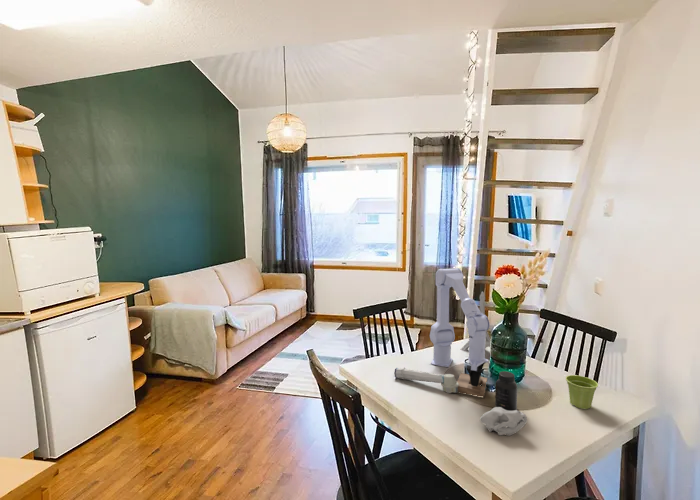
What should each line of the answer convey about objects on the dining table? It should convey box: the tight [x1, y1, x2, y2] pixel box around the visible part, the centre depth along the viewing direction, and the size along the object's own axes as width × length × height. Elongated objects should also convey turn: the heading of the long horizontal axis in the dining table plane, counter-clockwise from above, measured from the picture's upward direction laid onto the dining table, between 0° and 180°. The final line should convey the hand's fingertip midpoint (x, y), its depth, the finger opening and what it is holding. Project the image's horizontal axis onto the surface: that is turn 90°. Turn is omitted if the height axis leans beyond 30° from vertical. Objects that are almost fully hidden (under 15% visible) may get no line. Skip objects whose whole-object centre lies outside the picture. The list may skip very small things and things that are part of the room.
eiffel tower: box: [460, 291, 491, 352], centre depth 167 cm, size 13×13×30 cm
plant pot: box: [565, 374, 599, 410], centre depth 120 cm, size 9×9×9 cm
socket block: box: [456, 372, 488, 398], centre depth 132 cm, size 12×10×2 cm
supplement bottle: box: [494, 370, 518, 411], centre depth 118 cm, size 7×7×12 cm
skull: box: [479, 406, 528, 437], centre depth 105 cm, size 8×9×12 cm
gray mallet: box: [393, 367, 459, 394], centre depth 134 cm, size 5×7×25 cm
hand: (475, 381), depth 131 cm, fingers open, 7 cm apart
